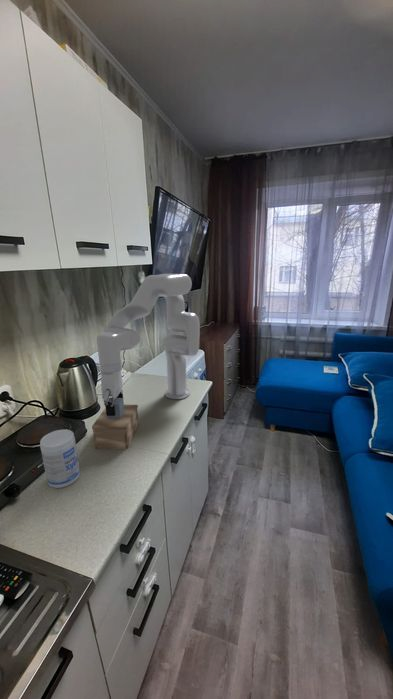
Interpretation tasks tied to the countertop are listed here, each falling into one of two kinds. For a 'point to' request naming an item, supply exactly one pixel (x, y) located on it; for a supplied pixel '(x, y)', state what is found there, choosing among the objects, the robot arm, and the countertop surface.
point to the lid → (115, 423)
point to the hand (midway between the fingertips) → (115, 408)
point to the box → (116, 436)
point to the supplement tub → (60, 458)
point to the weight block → (118, 408)
